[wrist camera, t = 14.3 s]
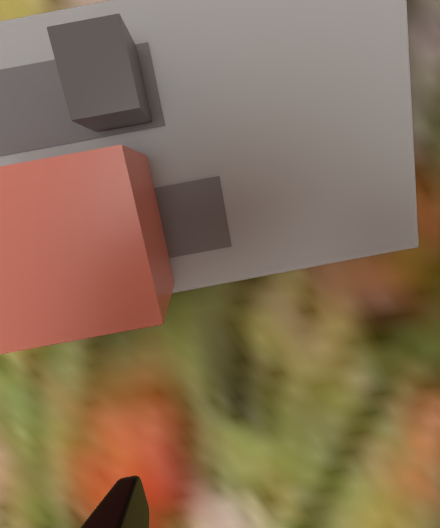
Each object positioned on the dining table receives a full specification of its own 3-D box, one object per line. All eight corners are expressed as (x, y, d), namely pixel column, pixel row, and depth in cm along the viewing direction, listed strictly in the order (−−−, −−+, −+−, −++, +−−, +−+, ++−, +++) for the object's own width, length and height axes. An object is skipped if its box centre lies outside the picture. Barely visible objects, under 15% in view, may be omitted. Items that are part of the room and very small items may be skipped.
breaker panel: (388, -37, 16) (411, -64, 14) (405, 243, 19) (426, 249, 17) (-91, 52, 16) (-127, 37, 14) (1, 318, 19) (-19, 332, 17)
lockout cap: (147, 155, 16) (121, 144, 11) (174, 283, 18) (163, 324, 13) (13, 180, 16) (-72, 179, 11) (51, 306, 18) (-9, 355, 13)
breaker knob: (136, 46, 15) (119, 13, 12) (152, 121, 16) (140, 107, 13) (77, 57, 15) (46, 26, 12) (95, 132, 16) (71, 120, 13)
